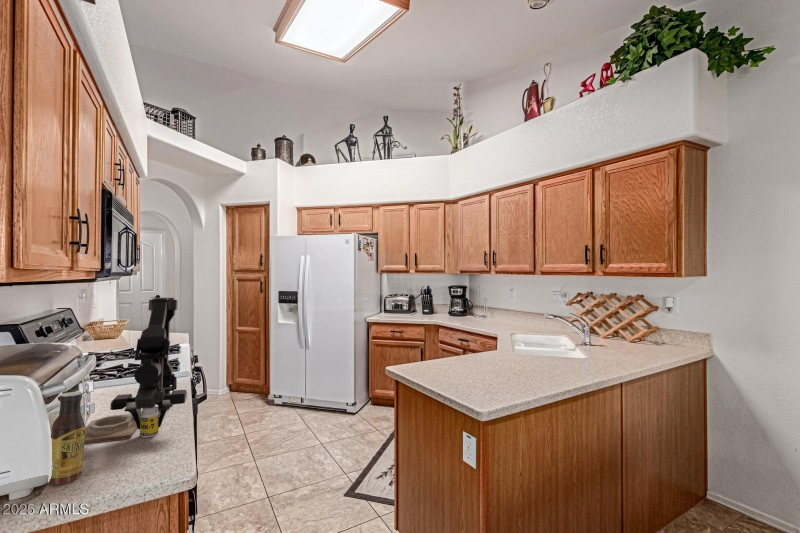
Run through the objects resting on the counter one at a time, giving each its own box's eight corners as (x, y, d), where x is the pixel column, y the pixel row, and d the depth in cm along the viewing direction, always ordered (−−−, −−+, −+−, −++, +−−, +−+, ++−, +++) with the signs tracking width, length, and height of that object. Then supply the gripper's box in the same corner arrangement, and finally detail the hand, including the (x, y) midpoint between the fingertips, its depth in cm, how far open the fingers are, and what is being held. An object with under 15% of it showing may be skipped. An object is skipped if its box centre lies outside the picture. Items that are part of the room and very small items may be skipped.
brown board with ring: (91, 424, 121) (92, 414, 121) (143, 418, 126) (144, 409, 126) (70, 445, 106) (71, 434, 106) (130, 438, 112) (130, 427, 112)
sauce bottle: (61, 488, 85) (65, 399, 86) (39, 485, 86) (43, 397, 87) (90, 474, 92) (93, 391, 92) (69, 470, 93) (73, 389, 93)
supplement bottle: (137, 438, 111) (138, 409, 111) (143, 432, 116) (144, 404, 116) (155, 437, 113) (156, 408, 113) (161, 430, 117) (162, 403, 117)
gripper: (105, 386, 104) (102, 443, 103) (183, 380, 111) (180, 434, 110) (117, 375, 114) (115, 428, 114) (188, 371, 121) (186, 420, 121)
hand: (149, 427), depth 114 cm, fingers closed on supplement bottle, 5 cm apart
